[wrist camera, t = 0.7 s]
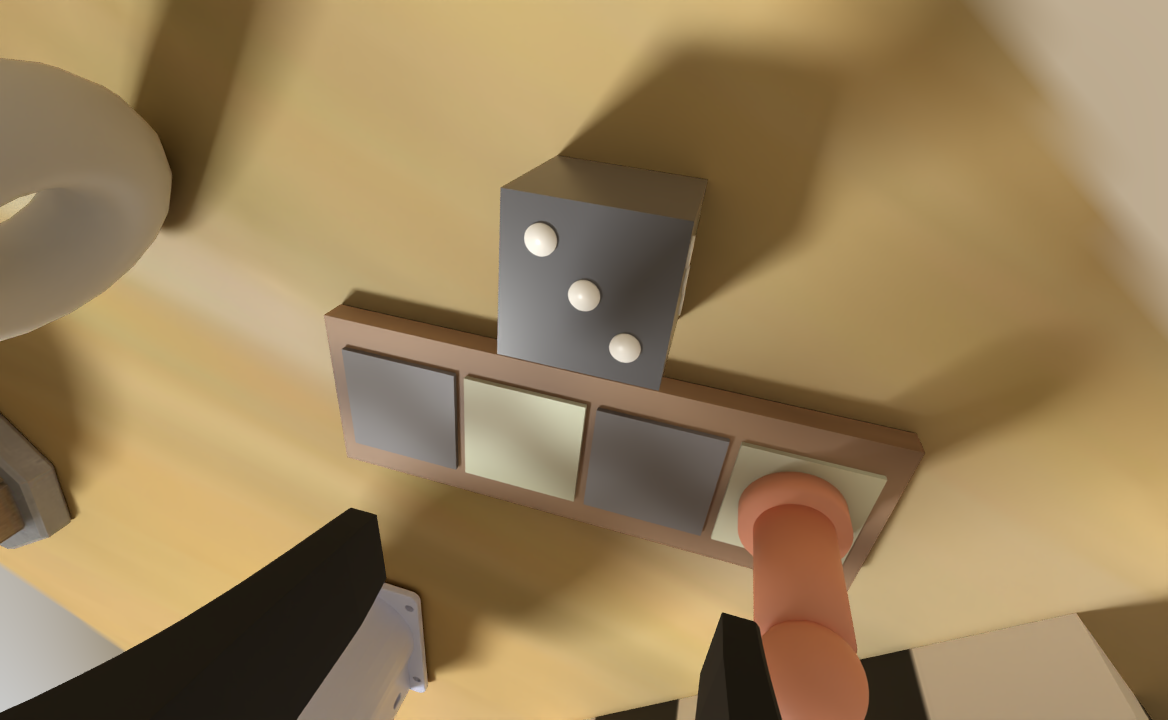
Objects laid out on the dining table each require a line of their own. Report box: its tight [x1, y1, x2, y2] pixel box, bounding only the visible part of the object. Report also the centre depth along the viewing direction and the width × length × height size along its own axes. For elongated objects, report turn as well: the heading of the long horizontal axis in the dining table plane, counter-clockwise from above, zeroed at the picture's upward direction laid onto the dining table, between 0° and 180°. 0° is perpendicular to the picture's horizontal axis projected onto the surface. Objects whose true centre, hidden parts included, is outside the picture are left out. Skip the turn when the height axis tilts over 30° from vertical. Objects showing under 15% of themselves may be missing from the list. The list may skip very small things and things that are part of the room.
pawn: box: [738, 472, 869, 720], centre depth 16 cm, size 4×4×7 cm
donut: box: [0, 58, 172, 341], centre depth 16 cm, size 10×4×10 cm, turn 140°
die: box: [497, 155, 708, 391], centre depth 15 cm, size 4×5×5 cm
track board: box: [324, 304, 925, 591], centre depth 21 cm, size 7×21×1 cm, turn 84°
